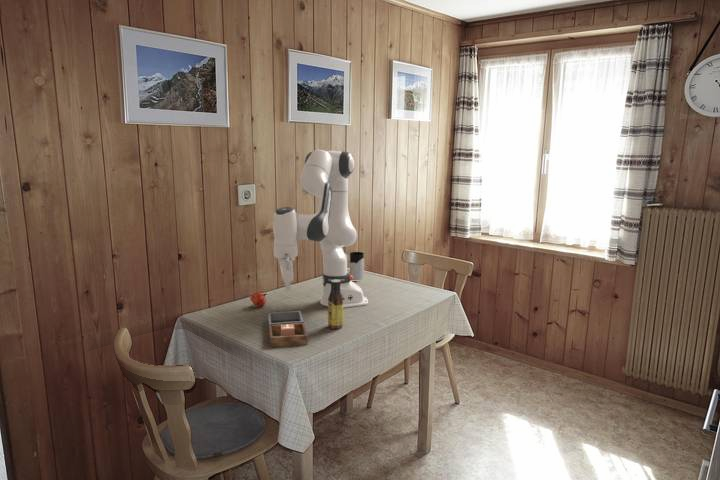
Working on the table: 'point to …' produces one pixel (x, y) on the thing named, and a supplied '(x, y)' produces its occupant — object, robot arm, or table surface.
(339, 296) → the sauce bottle
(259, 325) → the table surface
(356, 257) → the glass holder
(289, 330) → the letter cube
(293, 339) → the walnut box
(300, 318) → the grey box
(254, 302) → the pomegranate
